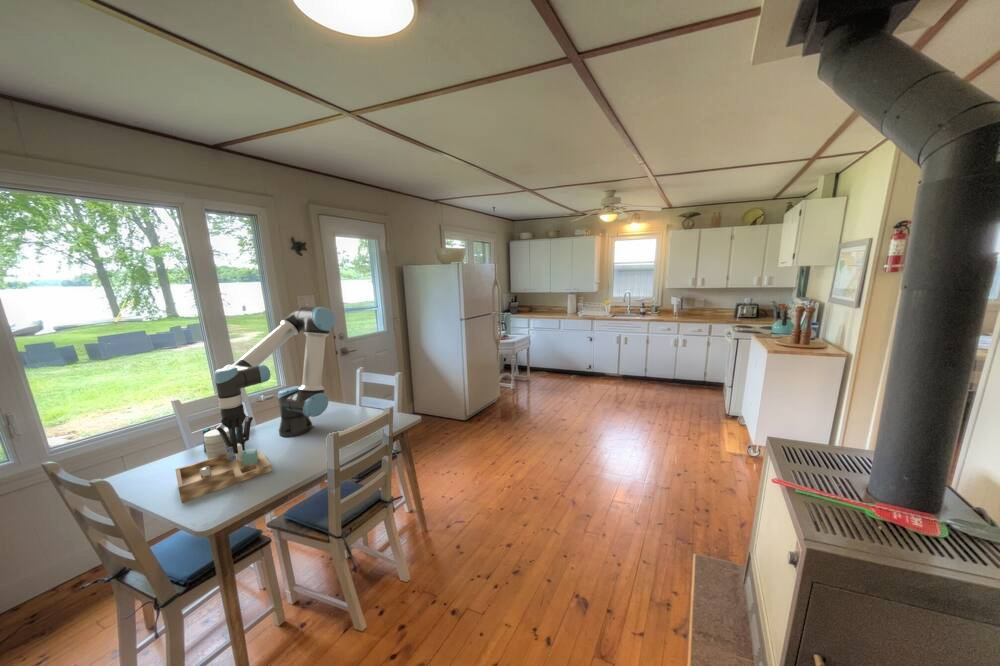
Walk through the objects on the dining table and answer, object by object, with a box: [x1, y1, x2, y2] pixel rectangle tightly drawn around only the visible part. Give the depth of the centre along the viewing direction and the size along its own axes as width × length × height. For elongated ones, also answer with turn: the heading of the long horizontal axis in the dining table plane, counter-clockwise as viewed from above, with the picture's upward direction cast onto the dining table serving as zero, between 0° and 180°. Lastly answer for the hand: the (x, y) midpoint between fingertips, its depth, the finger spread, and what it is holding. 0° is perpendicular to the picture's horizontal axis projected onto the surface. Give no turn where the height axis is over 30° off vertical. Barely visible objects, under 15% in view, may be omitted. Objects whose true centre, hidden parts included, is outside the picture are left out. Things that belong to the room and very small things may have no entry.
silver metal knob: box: [200, 466, 211, 478], centre depth 135 cm, size 3×3×6 cm
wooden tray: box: [175, 450, 272, 504], centre depth 143 cm, size 28×18×6 cm, turn 135°
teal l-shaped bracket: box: [202, 424, 244, 453], centre depth 175 cm, size 18×11×10 cm, turn 22°
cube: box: [242, 447, 258, 466], centre depth 150 cm, size 4×4×4 cm
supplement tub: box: [203, 426, 237, 461], centre depth 153 cm, size 10×10×15 cm
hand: (240, 459), depth 149 cm, fingers closed
